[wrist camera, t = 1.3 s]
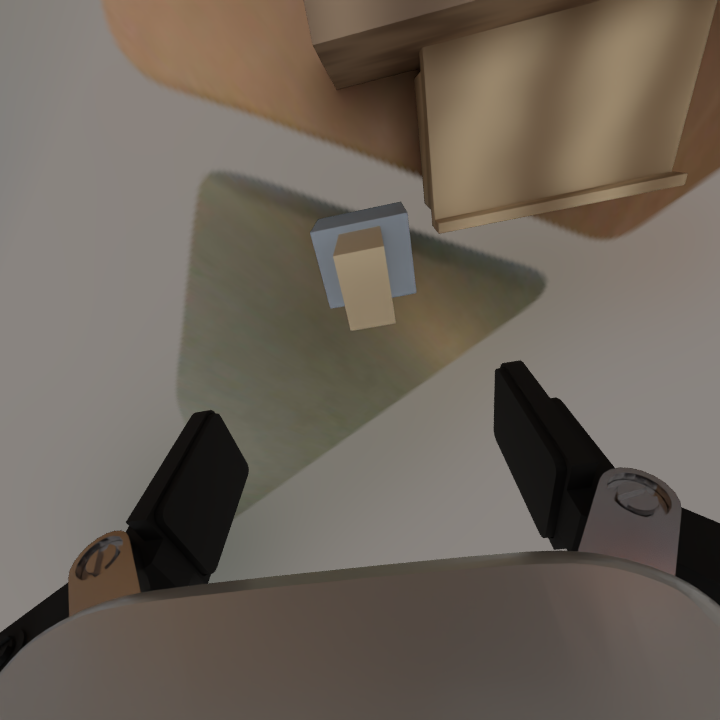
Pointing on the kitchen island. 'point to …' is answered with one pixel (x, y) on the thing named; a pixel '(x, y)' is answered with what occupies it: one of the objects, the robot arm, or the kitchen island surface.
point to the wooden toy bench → (528, 94)
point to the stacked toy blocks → (366, 262)
